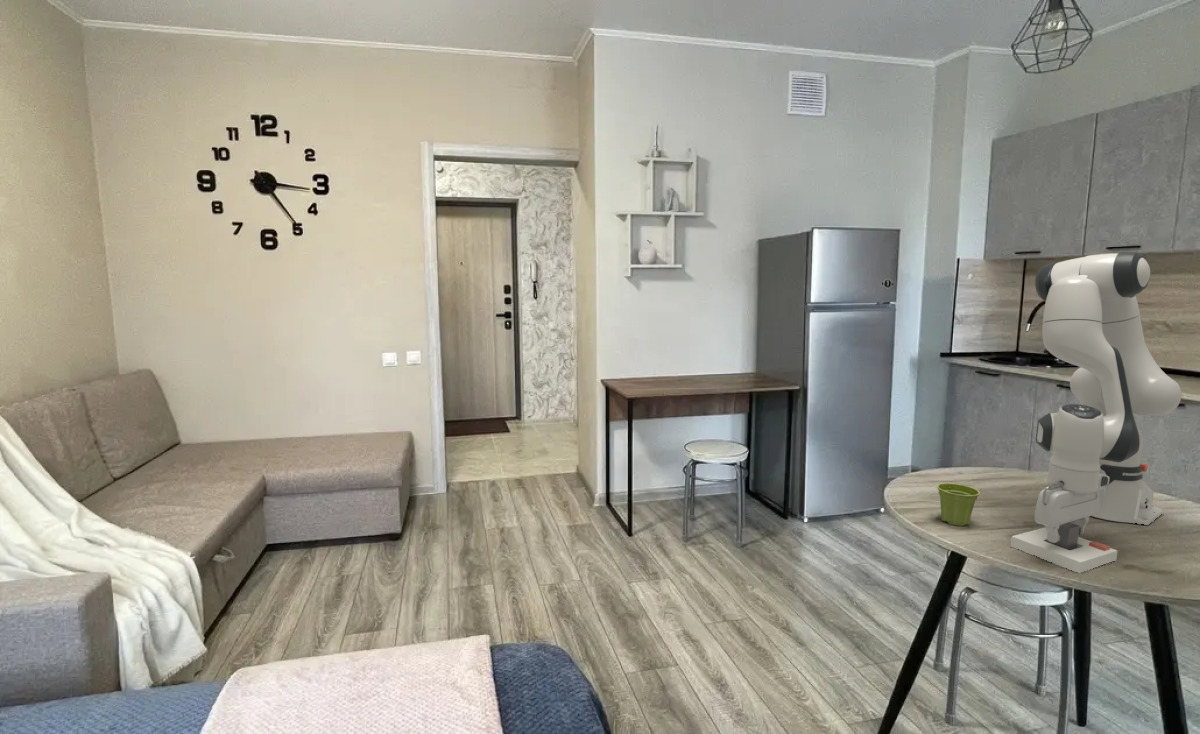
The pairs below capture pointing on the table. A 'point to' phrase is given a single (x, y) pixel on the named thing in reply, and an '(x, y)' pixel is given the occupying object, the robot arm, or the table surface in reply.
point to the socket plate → (1064, 551)
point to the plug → (1067, 536)
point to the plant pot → (957, 502)
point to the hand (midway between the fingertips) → (1065, 537)
